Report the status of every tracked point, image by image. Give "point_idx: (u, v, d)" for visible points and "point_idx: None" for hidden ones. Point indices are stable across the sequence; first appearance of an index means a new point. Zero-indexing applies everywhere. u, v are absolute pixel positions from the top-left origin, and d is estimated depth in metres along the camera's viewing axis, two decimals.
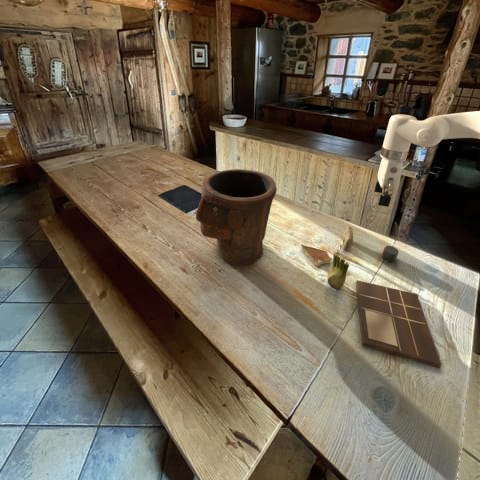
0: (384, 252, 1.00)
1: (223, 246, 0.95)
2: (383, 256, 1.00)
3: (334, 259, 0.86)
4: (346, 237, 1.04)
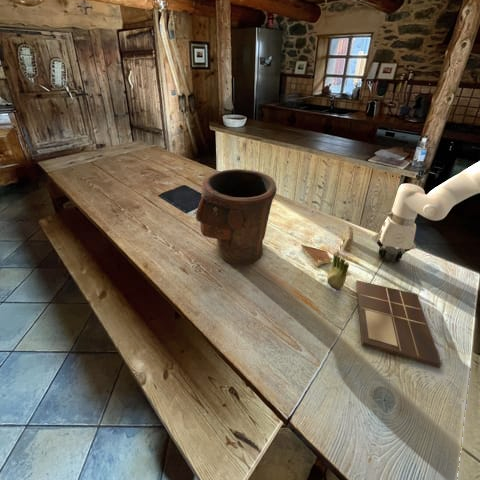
0: None
1: (223, 246, 0.95)
2: (383, 256, 1.00)
3: (334, 259, 0.86)
4: (346, 237, 1.04)
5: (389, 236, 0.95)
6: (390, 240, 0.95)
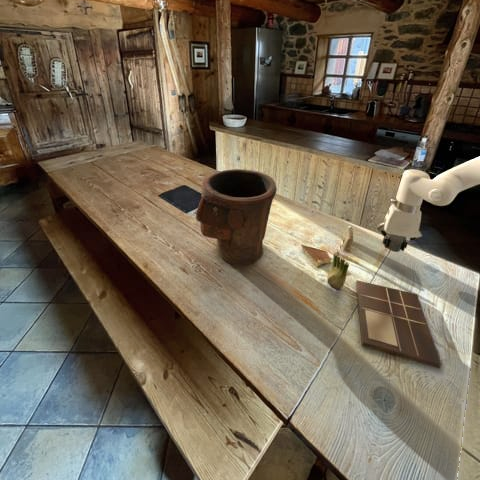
0: None
1: (223, 246, 0.95)
2: None
3: (334, 259, 0.86)
4: (346, 237, 1.04)
5: (393, 224, 0.92)
6: (395, 228, 0.93)
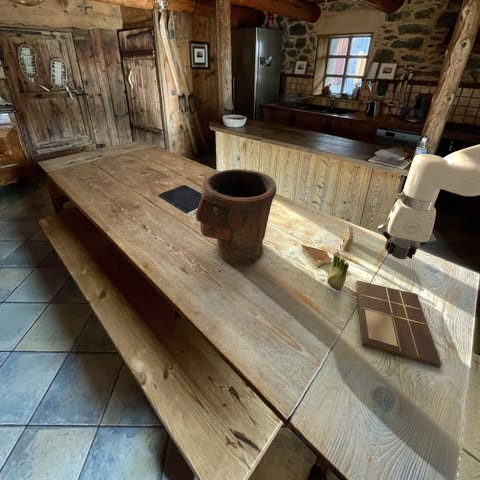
0: None
1: (223, 246, 0.95)
2: None
3: (334, 259, 0.86)
4: (346, 237, 1.04)
5: (399, 225, 0.72)
6: (401, 230, 0.73)
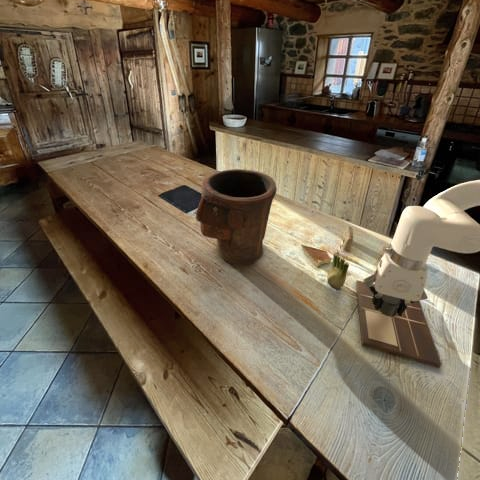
0: None
1: (223, 246, 0.95)
2: (379, 307, 0.70)
3: (334, 259, 0.86)
4: (346, 237, 1.04)
5: (387, 282, 0.64)
6: (389, 288, 0.65)
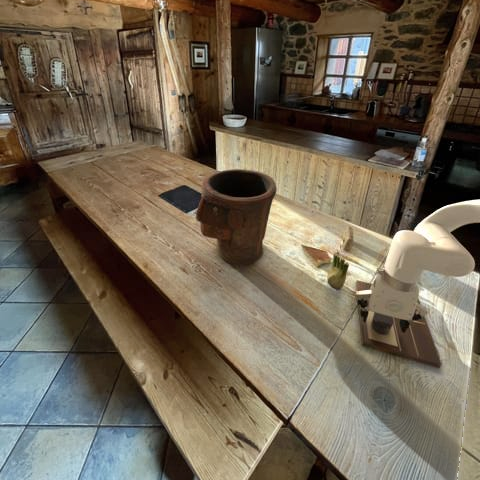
0: (374, 320, 0.73)
1: (223, 246, 0.95)
2: (373, 325, 0.73)
3: (334, 259, 0.86)
4: (346, 237, 1.04)
5: (381, 302, 0.67)
6: (382, 307, 0.68)
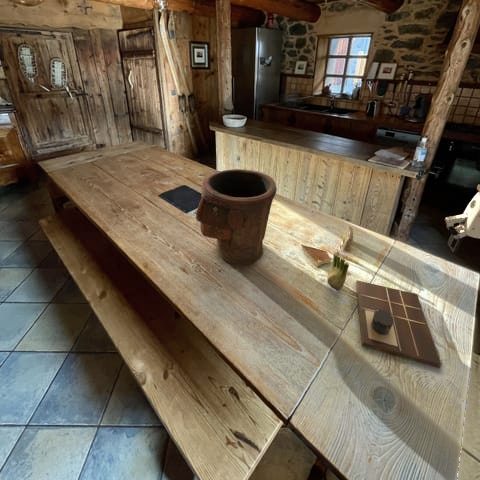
0: (374, 320, 0.73)
1: (223, 246, 0.95)
2: (373, 325, 0.73)
3: (334, 259, 0.86)
4: (346, 237, 1.04)
5: None
6: None
